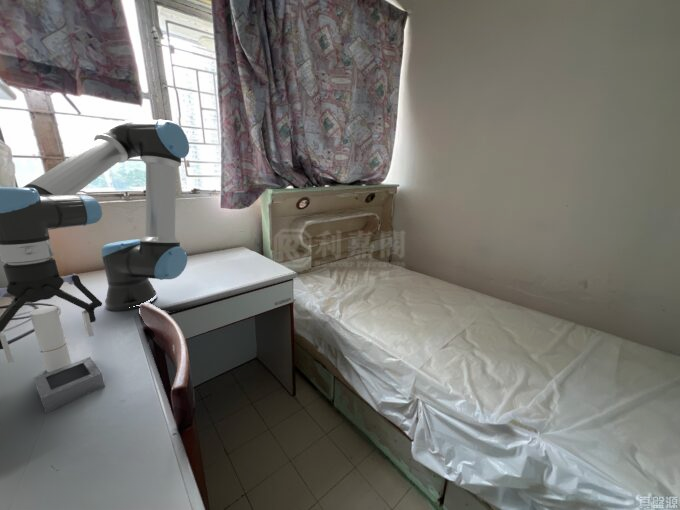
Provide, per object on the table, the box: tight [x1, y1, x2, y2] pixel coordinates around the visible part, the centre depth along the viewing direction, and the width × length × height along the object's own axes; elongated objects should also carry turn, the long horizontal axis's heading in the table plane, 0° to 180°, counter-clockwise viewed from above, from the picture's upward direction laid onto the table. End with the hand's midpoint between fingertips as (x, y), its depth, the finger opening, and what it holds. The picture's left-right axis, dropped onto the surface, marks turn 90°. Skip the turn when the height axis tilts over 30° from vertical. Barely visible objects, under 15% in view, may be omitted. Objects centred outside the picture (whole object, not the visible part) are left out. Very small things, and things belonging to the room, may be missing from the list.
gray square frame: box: [33, 356, 106, 414], centre depth 58 cm, size 9×9×4 cm
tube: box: [29, 305, 72, 373], centre depth 63 cm, size 4×4×15 cm
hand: (53, 346), depth 64 cm, fingers open, 12 cm apart
